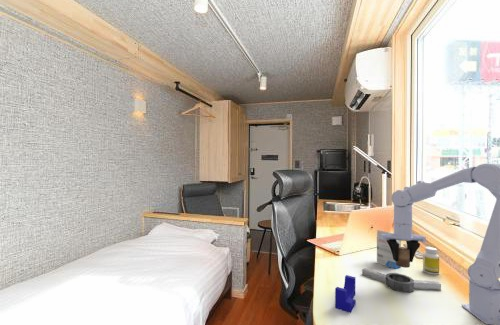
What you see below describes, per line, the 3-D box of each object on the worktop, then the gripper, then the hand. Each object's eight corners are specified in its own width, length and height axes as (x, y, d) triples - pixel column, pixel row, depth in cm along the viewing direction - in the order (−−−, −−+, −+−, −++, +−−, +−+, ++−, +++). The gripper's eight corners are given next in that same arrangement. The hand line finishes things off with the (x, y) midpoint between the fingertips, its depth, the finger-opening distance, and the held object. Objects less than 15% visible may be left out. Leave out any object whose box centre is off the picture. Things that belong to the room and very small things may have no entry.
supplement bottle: (442, 275, 100) (442, 250, 100) (426, 274, 101) (426, 249, 102) (435, 270, 106) (435, 246, 106) (420, 269, 107) (420, 245, 107)
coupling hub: (412, 267, 89) (412, 250, 89) (399, 267, 90) (399, 250, 90) (405, 262, 94) (405, 246, 94) (393, 262, 95) (393, 245, 95)
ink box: (401, 267, 109) (401, 232, 109) (394, 269, 106) (395, 234, 106) (382, 260, 116) (383, 228, 116) (376, 262, 114) (376, 229, 114)
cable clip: (350, 313, 74) (350, 293, 74) (335, 308, 77) (335, 288, 77) (360, 296, 84) (360, 278, 84) (346, 292, 86) (346, 275, 86)
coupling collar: (447, 295, 85) (447, 286, 85) (374, 290, 88) (374, 281, 88) (422, 276, 99) (422, 268, 99) (361, 273, 102) (361, 265, 102)
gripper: (418, 221, 95) (418, 257, 95) (377, 220, 97) (377, 255, 97) (429, 225, 88) (429, 265, 88) (385, 224, 90) (385, 262, 90)
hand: (402, 260), depth 92 cm, fingers closed on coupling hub, 4 cm apart
